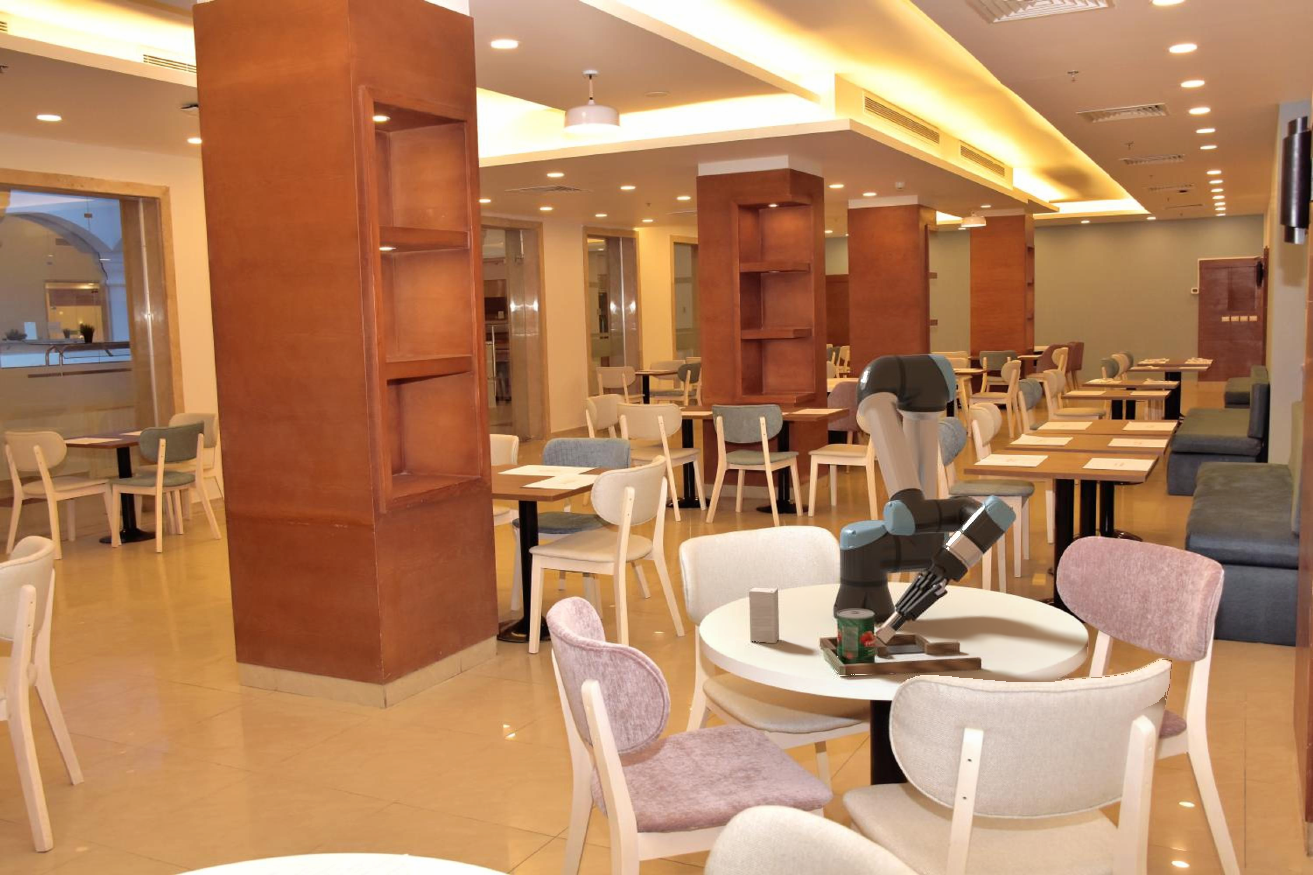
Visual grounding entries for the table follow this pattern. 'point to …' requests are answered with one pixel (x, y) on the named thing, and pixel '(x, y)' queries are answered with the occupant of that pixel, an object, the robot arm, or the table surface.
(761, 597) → the skincare box
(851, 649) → the canned tomato
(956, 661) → the wooden rail frame
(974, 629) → the table surface
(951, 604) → the table surface
